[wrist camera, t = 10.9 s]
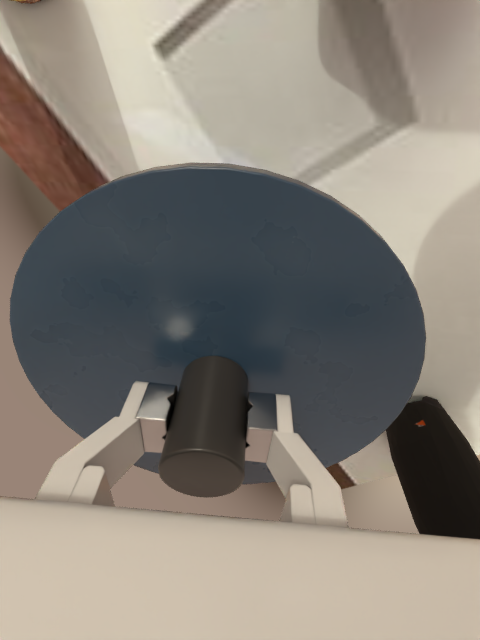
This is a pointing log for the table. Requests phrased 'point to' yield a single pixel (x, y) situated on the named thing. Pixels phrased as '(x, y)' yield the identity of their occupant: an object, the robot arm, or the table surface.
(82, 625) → the robot arm
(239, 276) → the lid
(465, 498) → the portable speaker
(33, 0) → the sauce bottle
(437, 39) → the table surface
